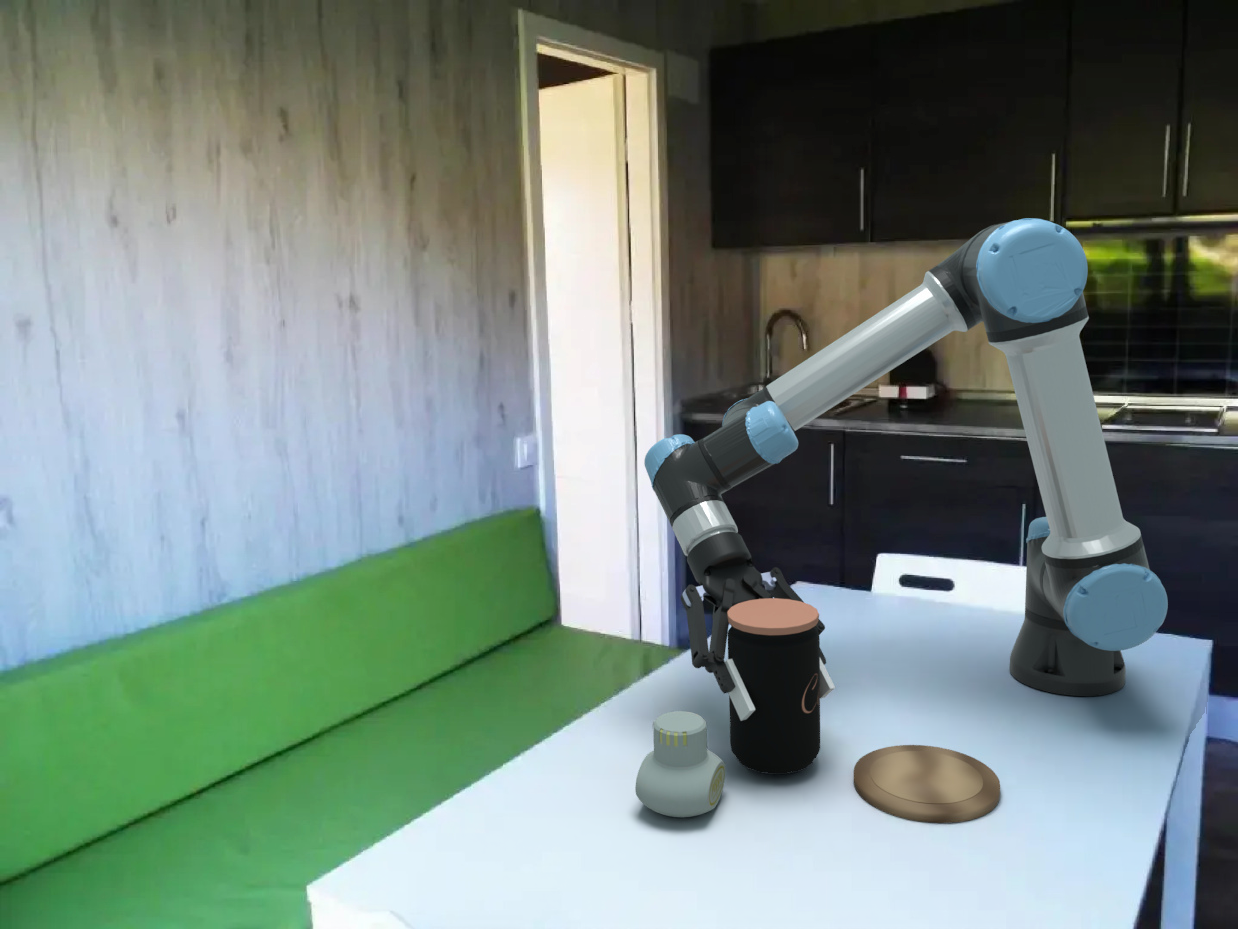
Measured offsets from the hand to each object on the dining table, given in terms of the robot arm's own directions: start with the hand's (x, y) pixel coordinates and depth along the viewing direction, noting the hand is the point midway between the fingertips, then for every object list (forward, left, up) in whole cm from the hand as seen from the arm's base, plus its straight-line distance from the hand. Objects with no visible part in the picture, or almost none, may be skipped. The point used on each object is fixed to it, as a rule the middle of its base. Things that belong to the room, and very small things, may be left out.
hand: (788, 704), depth 122 cm
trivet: (-15, +4, -9) cm, 18 cm away
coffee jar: (+1, -3, -8) cm, 8 cm away
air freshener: (+13, +5, -9) cm, 17 cm away
